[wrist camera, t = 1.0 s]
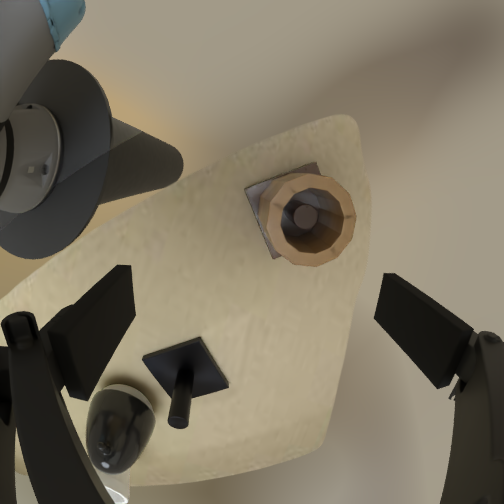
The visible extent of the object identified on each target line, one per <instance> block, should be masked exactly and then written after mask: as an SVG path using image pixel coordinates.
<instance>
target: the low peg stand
mask: <svg viewBox="0 0 504 504" xmlns="http://www.w3.org/2000/svg"><path fill="white" fill-rule="evenodd" d="M290 173H310V174H316V175H321V174H320V171H319V169H318V166H317V163H316V162H313V163H310V164H307V165H305V166H302V167H299V168H297V169H294V170H291V171H289V172H286V173H283V174H281V175H278V176H276V177H273V178H270V179H268V180H265V181H263V182H260V183H258V184H255V185H253V186H250V187H248V188H246V189H244V190H245V192H246V195H247V197H248V200H249V202H250V204H251V207H252V209H253V212H254V214H255V217H256V219H257V221H258V224H259V226H260V229H261V231H262V234H263V236H264V239H265V241H266V243H267V246H268V248H269V251H270V253H271V256H272V258H273V259H275V258H278V257H280V256H282V255H281V254H279V253H278V252H277V251H275V249H274V248H273V246H272V244H271V243H270V241H269V240H268V238H267V236H266V235H265V233H264V230H263V228H262V225H261V223H260V221H259V218H258V209H259V202H260V196H261V194H262V193H263V192H264V191H265V189H266V188H267V187H268V186H269V184H270V183H271V182H272V181H273V180H275V179H277V178H280V177H282V176H285V175H288V174H290ZM319 212H320V206H319V203H318V200H317V198H316V195H315V194H314V193H312V192H311V191H310V190H309V189H306V190H303V191H301V192H298V193H296V194H294V195H293V196H292V198H291V199H290V200H289V201H288V203H287V204H286V205H285V206H284V208H283V212H282V219H281V225H280V226H281V228H282V231H283V233H284V235H289V236H296V237H298V236H300V235H303V234H305V233H307V232H310V231H311V229H312V228H313V227H314V226H315V224H316V223H317V222H318V218H319Z"/></svg>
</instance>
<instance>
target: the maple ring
mask: <svg viewBox="0 0 504 504" xmlns="http://www.w3.org/2000/svg"><path fill="white" fill-rule="evenodd" d="M306 189H309V190H310V191H311V192H312V193H314V194H315V195H316V198H317V200H318V203H319V206H320V212H319V218H318V222H317V223H316V224H315V226H314V227H313V228H312V229H311V231H310V232H307V233H305V234H303V235H300V236H298V237H296V236H289V235H284V233H283V231H282V228H281V226H280V225H281V219H282V212H283V208H284V206H285V205H286V204H287V203H288V201H289V200H290V199H291V198H292V196H293V195H294V194H296V193H298V192H301V191H303V190H306ZM258 218H259V221H260V223H261V225H262V228H263V230H264V233H265V235H266V236H267V238H268V240H269V241H270V243H271V244H272V246H273V248H274V249H275V251H277V252H278V253H279V254H281V255H282V256H283V257H285V258H286V259H287V260H289V261H290V262H291V263H292V264H295V265H304V266H314V267H317V266H319V265H322V264H324V263H326V262H328V261H331V260H333V259H335V258H337V257H338V256H339V255H340V254H341V252H342V251H343V250H344V248H345V247H346V246H347V245H348V243H349V242H350V241H351V240H352V237H353V232H354V227H355V221H356V213H355V210H354V207H353V203H352V200H351V197H350V194H349V193H348V192H347V191H346V190H345V189H344V188H343V187H342V186H341V185H340V184H338V183H337V182H336V181H335V180H334V179H333V178H331V177H326V176H321V175H316V174H310V173H290V174H288V175H285V176H282V177H280V178H277V179H275V180H273V181H272V182H271V183H270V184H269V186H268V187H267V188H266V189H265V191H264V192H263V193H262V194H261V196H260V202H259V209H258Z"/></svg>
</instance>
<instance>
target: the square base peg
mask: <svg viewBox="0 0 504 504" xmlns="http://www.w3.org/2000/svg"><path fill="white" fill-rule="evenodd" d="M142 361H143V362H144V363H145V365H146V366H147V368H148V369H149V370H150V372H151V373H152V374H153V376H154V377H155V378H156V380H157V381H158V382H159V384H160V385H161V386H162V387H163V389H164V390H165V391H166V393H167V394H168V395H169V396H170V398H171V399H172V400H171V406H170V411H169V416H168V423H169V425H170V426H172V427H174V428H177V429H184V428H186V427H187V426H188V424H189V415H190V406H191V399H192V398H195V397H199V396H203V395H206V394H210V393H213V392H217V391H220V390H223V389H226V388H229V383H228V382H227V380H226V379H225V377H224V375H223V374H222V372H221V371H220V369H219V368H218V366H217V364H216V363H215V361H214V360H213V358H212V356H211V355H210V353H209V351H208V350H207V348H206V347H205V345H204V343H203V342H202V340H201V338H200V337H198V338H195V339H193V340H190V341H187V342H184V343H181V344H178V345H175V346H172V347H169V348H166V349H163V350H160V351H157V352H154V353H151V354H148V355H145V356H143V358H142Z"/></svg>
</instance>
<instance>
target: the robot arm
mask: <svg viewBox="0 0 504 504" xmlns="http://www.w3.org/2000/svg"><path fill="white" fill-rule="evenodd" d="M85 8H86V7H85V1H84V0H0V210H3V211H7V212H10V213H23V212H27V211H30V210H33V209H35V208H37V207H38V206H40V205H41V204H42V203H43V202H44V201H45V200H46V199H47V198H48V196H49V195H50V194H51V192H52V190H53V189H54V187H55V185H56V182H57V180H58V177H59V174H60V171H61V167H62V162H63V155H64V139H63V132H62V128H61V125H60V122H59V120H58V118H57V117H56V115H55V114H54V113H53V112H52V111H51V110H50V109H48V108H47V107H45V106H42V105H38V104H22V105H19V100H20V99H21V97H22V96H23V94H24V92H25V91H26V89H27V88H28V87H29V85H30V84H31V82H32V81H33V79H34V78H35V77H36V75H37V74H38V73H39V71H40V70H41V69H42V67H43V66H44V65H45V63H46V62H47V61H48V60H49V58H50V57H51V56H52V55H53V54H54V53H55V52H57V51H58V50H59V49H60V45H61V44H62V43H63V41H64V40H65V39H66V38H67V37H68V36H69V34H70V33H71V32H72V31H73V30H74V29H75V27H76V26H77V25H78V24H79V23H80V22H81V20H82V18H83V16H84V13H85ZM135 316H136V312H135V303H134V294H133V283H132V270H131V265H116V266H115V267H114V268H113V269H112V270H111V271H110V272H108V273H107V274H106V275H105V276H104V277H103V278H102V279H101V280H99V281H98V282H97V283H96V284H95V285H94V286H93V287H92V288H91V289H90V290H89V291H87V292H86V293H85V294H84V295H83V296H82V297H81V298H80V299H79V300H78V301H77V302H76V303H75V304H74V305H69V306H67V307H65V308H63V309H61V310H60V311H59V312H58V313H57V314H56V315H55V316H54V317H53V318H52V319H51V320H50V321H49V322H48V323H47V324H46V325H45V326H44V327H43V328H42V329H41V330H40V331H39V330H38V326H37V323H36V319H35V316H34V314H32V313H30V312H26V311H22V312H16V313H12V314H10V315H8V316H6V317H5V318H4V319H3V320H2V322H1V327H2V330H3V333H4V336H5V339H6V342H7V345H8V347H4V346H0V504H17V501H16V490H15V489H16V488H15V433H16V428H17V433H18V438H19V442H20V446H21V451H22V454H23V458H24V462H25V465H26V469H27V472H28V475H29V478H30V482H31V484H32V487H33V490H34V493H35V496H36V498H37V501H38V503H39V504H115V502H114V501H113V499H112V498H111V496H110V495H109V493H108V491H107V490H106V488H105V486H104V485H103V483H102V481H101V480H100V478H99V476H98V474H97V472H96V471H95V469H94V467H93V465H92V463H91V461H90V459H89V457H88V455H87V453H86V451H85V449H84V447H83V445H82V443H81V441H80V438H79V436H78V434H77V432H76V429H75V427H74V425H73V422H72V420H71V417H70V415H69V412H68V410H67V407H66V404H65V402H64V399H63V396H62V394H61V390H62V388H63V387H64V385H65V386H66V389H67V391H68V393H69V396H70V397H73V398H76V399H80V400H84V401H88V400H89V398H90V396H91V394H92V392H93V390H94V388H95V386H96V385H97V383H98V381H99V379H100V377H101V375H102V373H103V372H104V370H105V368H106V366H107V364H108V363H109V361H110V359H111V357H112V355H113V354H114V352H115V350H116V348H117V347H118V345H119V343H120V341H121V340H122V338H123V336H124V334H125V333H126V331H127V329H128V328H129V326H130V324H131V323H132V321H133V319H134V318H135ZM374 319H375V320H376V321H377V322H378V323H379V324H380V326H381V327H382V328H383V329H384V330H385V331H386V332H387V333H388V334H389V335H390V336H391V338H392V339H393V340H394V341H395V342H396V343H397V344H398V345H399V346H400V347H401V349H402V350H403V351H404V352H405V353H406V354H407V355H408V356H409V357H410V358H411V360H412V361H413V362H414V363H415V364H416V365H417V366H418V368H419V369H420V370H421V371H422V372H423V373H424V374H425V376H426V377H427V378H428V379H429V380H430V381H431V382H432V384H433V385H434V386H435V387H436V388H437V389H439V388H443V387H446V386H449V385H450V383H451V381H452V379H453V377H454V374H457V376H458V377H459V379H458V381H457V383H456V385H455V387H454V389H453V391H452V393H451V394H450V396H449V399H451V398H452V396H454V395H455V398H454V400H455V414H454V427H453V437H452V445H451V452H450V458H449V464H448V470H447V475H446V480H445V484H444V489H443V493H442V497H441V501H440V504H504V342H503V341H502V340H501V338H500V337H499V336H497V335H496V334H495V333H492V332H488V331H481V332H480V333H479V334H477V333H475V332H474V331H473V330H474V329H473V328H472V327H471V326H469V325H468V324H467V323H465V322H464V321H463V320H461V319H460V318H458V317H457V316H456V315H454V314H453V313H451V312H450V311H449V310H447V309H446V308H445V307H443V306H442V305H440V304H439V303H438V302H436V301H435V300H433V299H432V298H431V297H429V296H428V295H426V294H425V293H423V292H421V291H420V290H419V289H417V288H416V287H414V286H413V285H412V284H410V283H409V282H407V281H405V280H404V279H403V278H401V277H399V276H398V275H397V274H395V273H384V275H383V280H382V285H381V289H380V294H379V298H378V303H377V307H376V311H375V316H374Z"/></svg>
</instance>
